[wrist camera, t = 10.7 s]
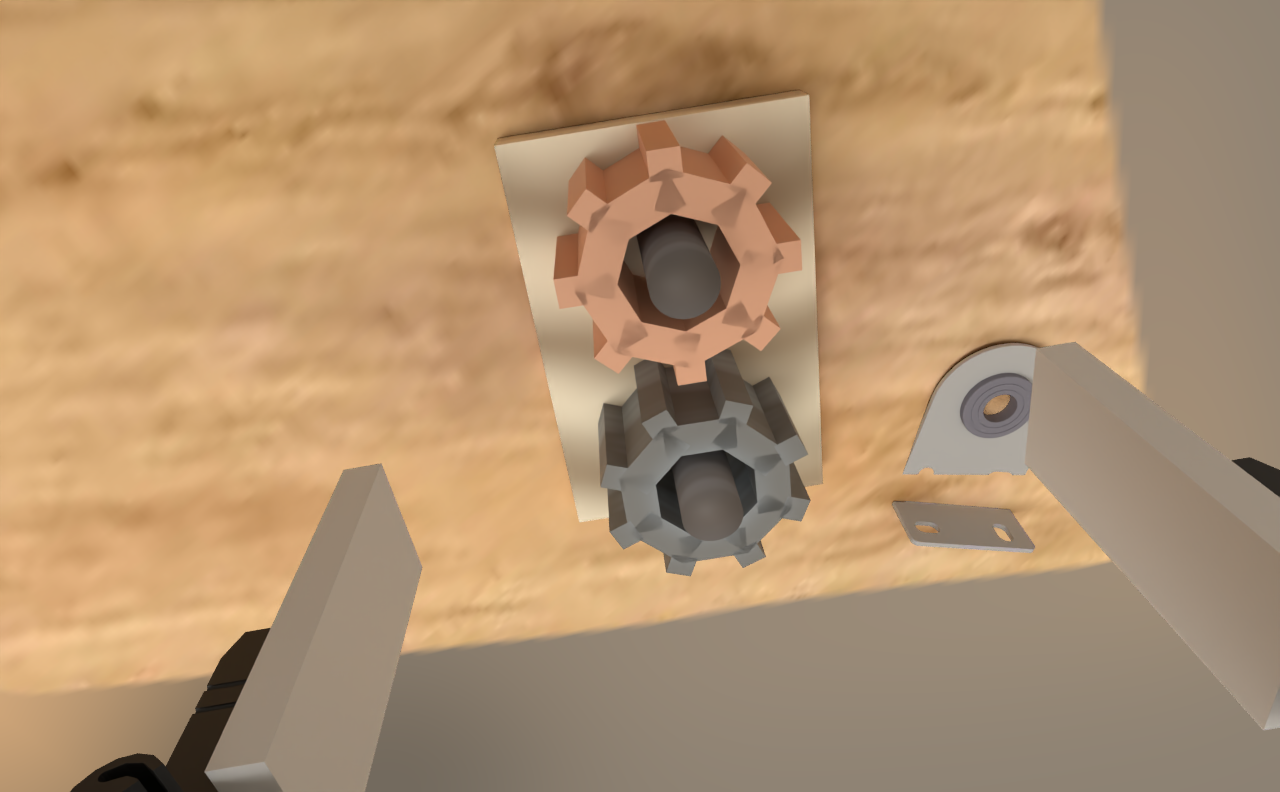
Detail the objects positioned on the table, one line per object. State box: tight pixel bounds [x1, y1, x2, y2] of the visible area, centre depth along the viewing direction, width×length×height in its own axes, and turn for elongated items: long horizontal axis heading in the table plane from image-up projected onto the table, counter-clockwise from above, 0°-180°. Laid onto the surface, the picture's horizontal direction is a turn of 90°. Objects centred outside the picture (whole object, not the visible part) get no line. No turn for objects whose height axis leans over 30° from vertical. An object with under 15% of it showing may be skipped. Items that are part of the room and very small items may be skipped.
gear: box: [553, 120, 802, 386], centre depth 29 cm, size 8×8×5 cm
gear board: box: [494, 90, 823, 576], centre depth 31 cm, size 18×12×8 cm, turn 8°
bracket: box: [892, 343, 1038, 553], centre depth 38 cm, size 7×10×4 cm, turn 172°
